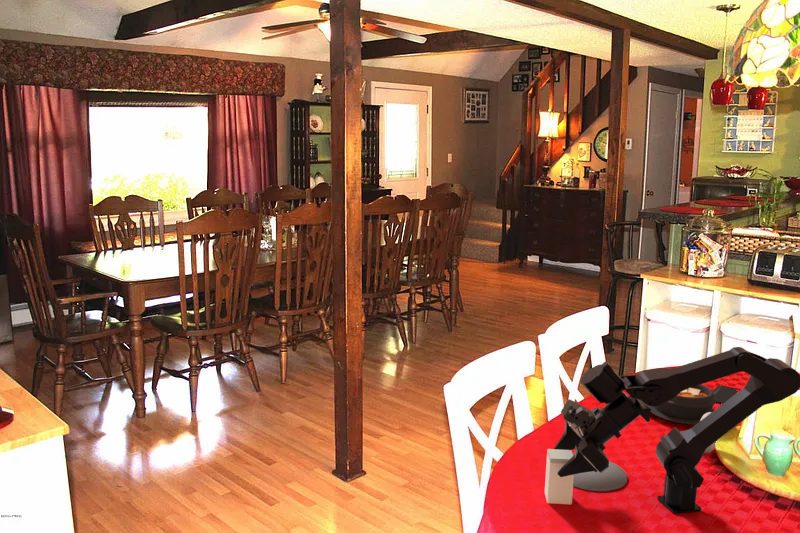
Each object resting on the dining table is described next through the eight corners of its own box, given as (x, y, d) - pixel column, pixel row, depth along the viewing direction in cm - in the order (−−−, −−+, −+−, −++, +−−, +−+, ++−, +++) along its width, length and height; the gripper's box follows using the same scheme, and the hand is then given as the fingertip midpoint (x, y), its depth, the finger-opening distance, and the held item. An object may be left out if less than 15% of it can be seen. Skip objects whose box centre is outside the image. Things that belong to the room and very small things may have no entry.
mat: (640, 488, 156) (641, 485, 156) (573, 494, 153) (573, 491, 152) (605, 455, 171) (605, 453, 171) (542, 460, 168) (543, 458, 168)
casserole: (622, 413, 198) (625, 384, 197) (651, 396, 212) (654, 369, 210) (714, 441, 182) (718, 409, 180) (740, 421, 195) (743, 391, 193)
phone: (745, 390, 217) (734, 404, 205) (745, 393, 217) (734, 408, 205) (718, 384, 221) (705, 398, 209) (717, 388, 221) (705, 401, 209)
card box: (568, 493, 153) (571, 450, 151) (571, 504, 148) (575, 459, 146) (544, 492, 153) (547, 448, 151) (547, 503, 149) (550, 458, 147)
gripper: (579, 375, 155) (524, 420, 158) (596, 407, 137) (535, 457, 139) (612, 411, 156) (558, 455, 159) (634, 448, 138) (572, 497, 140)
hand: (555, 464), depth 149 cm, fingers open, 9 cm apart
